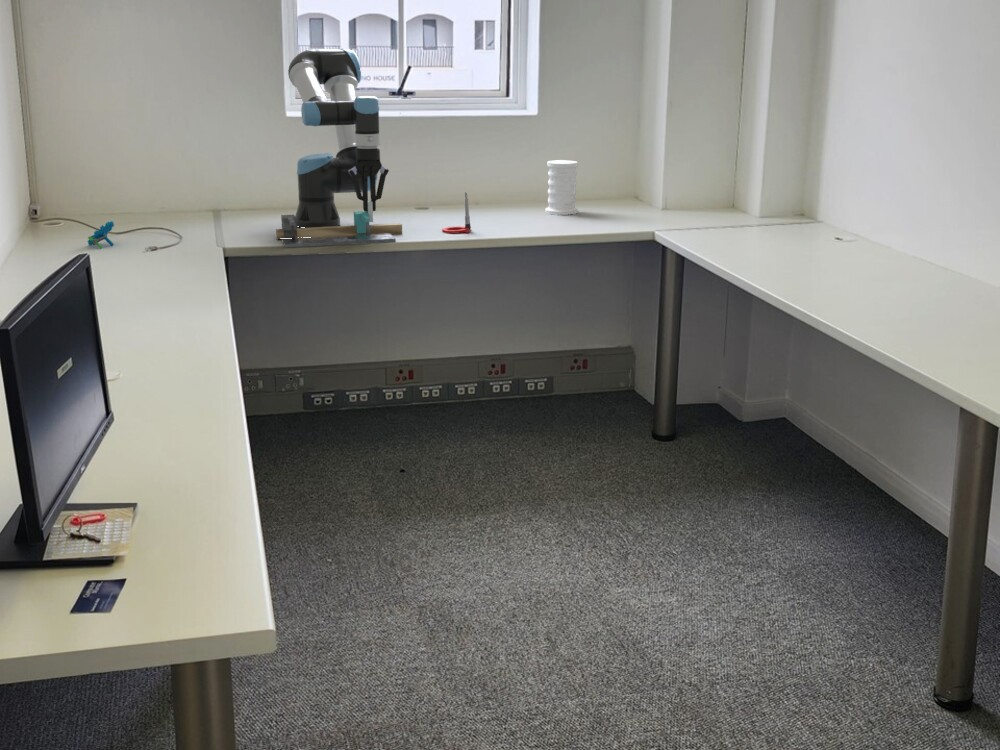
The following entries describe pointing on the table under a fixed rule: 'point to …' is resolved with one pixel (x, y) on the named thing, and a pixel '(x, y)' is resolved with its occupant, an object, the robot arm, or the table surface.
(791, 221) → the table surface
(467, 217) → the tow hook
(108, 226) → the blue blocky piece
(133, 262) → the table surface
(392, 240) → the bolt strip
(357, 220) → the sliding jaw
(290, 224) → the gauge rail
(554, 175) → the decorative container
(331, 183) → the robot arm
